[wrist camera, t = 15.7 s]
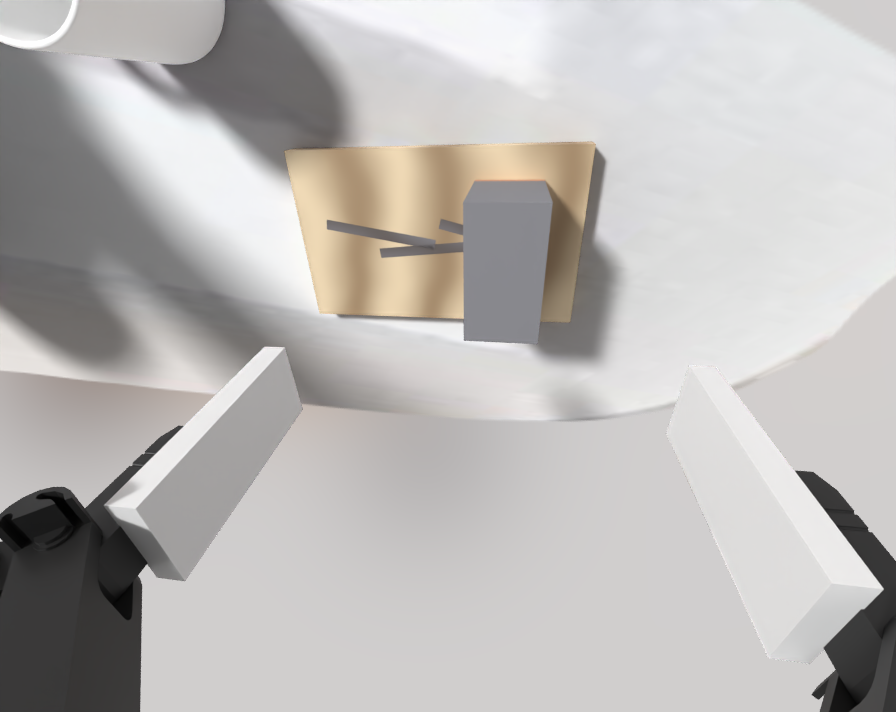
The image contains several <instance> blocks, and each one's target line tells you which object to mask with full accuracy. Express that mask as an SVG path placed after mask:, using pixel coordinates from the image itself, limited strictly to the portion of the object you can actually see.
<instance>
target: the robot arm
mask: <svg viewBox="0 0 896 712" xmlns="http://www.w3.org/2000/svg"><path fill="white" fill-rule="evenodd" d="M302 410H303V408H302V405H301V401H300V398H299V394H298V391H297V387H296V384H295V381H294V377H293V374H292V370H291V367H290V363H289V360H288V356H287V353H286V349H285V347H264V348H263V349H262V350H261V351H260V352H259V353H258V354H257V355H255V356H254V357H253V358H252V359H251V360H250V361H249V362H248V363H247V364H246V365H245V366H244V367H243V368H242V369H241V370H240V371H239V372H238V373H237V374H236V375H235V376H234V377H233V378H232V379H231V380H230V381H229V382H228V383H227V384H226V385H225V386H224V387H223V388H222V389H221V390H220V391H219V392H218V393H217V394H216V395H215V396H214V397H213V398H212V399H211V400H210V401H209V402H208V403H207V404H206V405H205V406H204V407H203V408H202V409H201V410H200V411H199V412H198V413H197V414H196V415H195V416H194V417H193V418H192V419H191V420H190V421H189V422H188V423H187V424H186V425H185V426H177V427H176V428H174V429H173V430H171V431H170V432H168V433H166V434H164V435H163V436H161V437H160V438H159V439H158V440H156V441H155V442H154V443H153V444H152V445H151V446H150V447H149V448H148V449H147V450H146V451H145V454H142V455H141V456H140V457H139V458H137V459H136V460H135V461H134V462H133V465H132V466H129V467H128V468H127V469H126V470H125V471H124V472H123V473H122V474H121V475H120V476H119V477H117V479H115V480H114V482H112V483H111V484H110V485H109V486H108V487H107V488H106V489H105V490H104V491H103V492H102V493H101V494H100V495H99V496H98V497H96V498H95V499H94V500H93V501H92V502H91V503H90V504H89V505H88V506H87V507H86V508H84V507H83V506H82V504H81V503H80V502H79V501H78V499H77V498H76V497H75V495H74V494H73V493H72V492H71V491H70V490H69V489H67V488H65V487H51V488H47V489H43V490H39V491H37V492H34V493H32V494H30V495H28V496H25V497H23V498H22V499H20V500H18V501H17V502H15V503H14V504H12V505H11V506H9V507H8V508H7V509H5V510H4V511H3V512H2V513H1V514H0V538H1V539H2V540H3V541H2V542H0V712H140V685H141V679H140V678H141V619H142V616H141V615H142V584H141V580H140V578H139V577H138V575H139V573H140V572H141V571H142V569H143V568H144V567H145V565H147V564H148V566H149V567H150V568H151V570H152V571H153V572H154V574H155V575H156V576H157V577H158V578H165V579H172V580H180V581H185V580H186V579H187V578H188V576H189V575H190V573H191V572H192V570H193V569H194V567H195V566H196V564H197V563H198V561H199V560H200V559H201V557H202V556H203V554H204V553H205V551H206V550H207V548H208V547H209V545H210V544H211V542H212V541H213V540H214V538H215V537H216V535H217V533H218V532H219V531H220V529H221V528H222V526H223V525H224V523H225V522H226V521H227V519H228V518H229V516H230V515H231V513H232V512H233V510H234V509H235V507H236V506H237V504H238V503H239V502H240V500H241V499H242V497H243V496H244V494H245V493H246V491H247V490H248V488H249V487H250V485H251V484H252V483H253V481H254V480H255V478H256V477H257V475H258V474H259V472H260V471H261V469H262V468H263V467H264V465H265V464H266V462H267V460H268V459H269V458H270V456H271V455H272V453H273V452H274V450H275V449H276V448H277V446H278V445H279V443H280V442H281V440H282V439H283V437H284V436H285V434H286V433H287V431H288V430H289V429H290V427H291V425H292V424H293V423H294V421H295V420H296V418H297V417H298V415H299V414H300V412H301V411H302ZM666 434H667V436H668V438H669V440H670V443H671V445H672V447H673V449H674V452H675V454H676V456H677V458H678V460H679V463H680V465H681V467H682V469H683V471H684V474H685V476H686V478H687V480H688V482H689V484H690V487H691V489H692V491H693V493H694V495H695V498H696V500H697V502H698V504H699V506H700V509H701V511H702V513H703V515H704V518H705V520H706V522H707V524H708V526H709V528H710V531H711V533H712V535H713V537H714V540H715V542H716V544H717V546H718V548H719V551H720V553H721V555H722V557H723V559H724V562H725V564H726V566H727V568H728V570H729V573H730V575H731V577H732V579H733V581H734V584H735V586H736V588H737V590H738V592H739V595H740V597H741V599H742V601H743V603H744V605H745V608H746V610H747V612H748V614H749V617H750V619H751V621H752V623H753V625H754V628H755V630H756V632H757V634H758V636H759V638H760V640H761V643H762V645H763V647H764V650H765V652H766V654H767V656H768V658H772V659H779V660H786V661H794V662H801V663H809V664H810V663H811V662H812V661H813V660H814V659H815V658H816V657H817V656H818V655H819V654H820V653H821V652H822V651H823V650H824V649H825V651H826V653H827V655H828V657H829V658H830V660H831V662H832V664H833V665H834V667H835V669H836V670H835V671H834V672H833V673H832V674H831V675H830V676H829V677H828V678H826V679H825V680H824V681H823V682H822V683H821V684H820V685H819V686H818V687H817V688H816V689H815V691H814V692H813V694H812V695H813V696H814V697H815V698H817V699H820V698H821V697H822V696H823V695H824V694H825V695H824V698H823V702H822V706H821V709H820V712H896V561H895V560H894V558H893V557H892V556H891V555H890V554H889V552H888V551H887V550H886V549H885V548H884V546H883V545H882V544H881V543H880V542H879V540H878V539H877V538H876V537H875V535H874V534H873V533H872V532H869V531H868V527H867V526H866V525H865V524H864V522H863V521H862V520H861V519H860V518H859V516H858V515H855V514H854V510H853V509H852V508H851V507H850V505H849V504H848V503H847V502H846V500H845V499H844V498H843V497H842V496H841V494H840V493H839V492H838V491H837V490H836V489H835V488H833V487H832V486H831V485H830V484H828V483H827V482H826V481H824V480H823V479H821V478H820V477H819V476H818V475H816V474H815V473H814V472H807V471H794V469H793V468H792V467H791V465H790V464H789V463H788V461H787V460H786V459H785V457H784V456H783V455H782V454H781V452H780V451H779V449H778V448H777V447H776V445H775V444H774V443H773V441H772V440H771V439H770V438H769V436H768V435H767V434H766V432H765V431H764V430H763V428H762V427H761V426H760V424H759V423H758V422H757V421H756V419H755V418H754V416H753V415H752V414H751V412H750V411H749V410H748V408H747V407H746V406H745V404H744V403H743V402H742V400H741V399H740V398H739V397H738V395H737V394H736V392H735V391H734V390H733V388H732V387H731V386H730V384H729V383H728V382H727V381H726V379H725V378H724V377H723V375H722V374H721V373H720V371H719V370H718V369H717V367H714V366H692V365H689V366H688V369H687V372H686V375H685V378H684V381H683V384H682V387H681V390H680V393H679V396H678V399H677V402H676V405H675V408H674V411H673V414H672V417H671V420H670V423H669V426H668V429H667V432H666Z"/></svg>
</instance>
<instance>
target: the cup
mask: <svg viewBox="0 0 896 712" xmlns="http://www.w3.org/2000/svg"><path fill="white" fill-rule="evenodd" d="M224 15H225V0H0V42H2V43H4V44H7V45H9V46H13V47H16V48H21V49H26V50H36V51H45V52H55V53H64V54H74V55H83V56H93V57H103V58H112V59H122V60H131V61H141V62H150V63H160V64H173V65H179V64H187V63H192V62H195V61H197V60H199V59H201V58H202V57H204V56H205V55H206V54H207V53H208V52H209V51H210V50H211V49H212V48H213V47H214V45H215V44H216V42H217V40H218V38H219V36H220V33H221V30H222V27H223V22H224Z"/></svg>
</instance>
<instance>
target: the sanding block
mask: <svg viewBox="0 0 896 712" xmlns="http://www.w3.org/2000/svg"><path fill="white" fill-rule="evenodd" d="M552 205H553V202H552V199H551V196H550V193H549V191H548V188H547V185H546V182H545V179H532V180H475V181H474V183H473V185H472V187H471V189H470V190H469V192H468V194H467V196H466V198H465V200H464V202H463V278H464V341H484V342H504V343H524V344H538V337H539V327H540V318H541V308H542V299H543V289H544V280H545V271H546V261H547V252H548V242H549V233H550V223H551V214H552Z"/></svg>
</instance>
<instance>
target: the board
mask: <svg viewBox="0 0 896 712" xmlns="http://www.w3.org/2000/svg"><path fill="white" fill-rule="evenodd" d="M595 146H596V144H595V143H593V142H557V143H514V144H471V145H428V146H385V147H342V148H299V149H290V150H285V151H284V153H285V158H286V163H287V167H288V172H289V176H290V181H291V185H292V190H293V194H294V199H295V203H296V208H297V212H298V217H299V221H300V226H301V231H302V235H303V240H304V244H305V249H306V253H307V258H308V262H309V267H310V271H311V276H312V280H313V285H314V290H315V294H316V299H317V303H318V308H319V312H320V314H348V315H375V316H402V317H429V318H456V319H464V278H463V202H464V200H465V198H466V196H467V194H468V192H469V190H470V189H471V187H472V185H473V183H474V181H475V180H532V179H545V182H546V185H547V188H548V191H549V193H550V196H551V199H552V202H553V205H552V214H551V223H550V233H549V242H548V252H547V261H546V271H545V280H544V289H543V299H542V308H541V318H540V322H565V323H570V321H571V314H572V307H573V300H574V293H575V286H576V279H577V272H578V265H579V258H580V251H581V244H582V237H583V230H584V223H585V216H586V209H587V202H588V195H589V188H590V181H591V174H592V167H593V160H594V153H595Z"/></svg>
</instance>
